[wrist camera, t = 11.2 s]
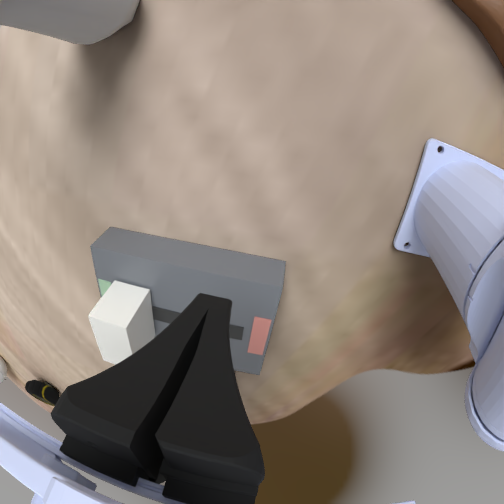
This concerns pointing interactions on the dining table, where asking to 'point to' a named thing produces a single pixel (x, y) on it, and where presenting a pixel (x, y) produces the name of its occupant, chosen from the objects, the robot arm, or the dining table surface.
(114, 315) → the breaker handle
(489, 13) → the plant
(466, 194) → the robot arm
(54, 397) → the tape measure
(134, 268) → the breaker block
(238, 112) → the dining table surface
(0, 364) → the white oval body
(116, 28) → the salt shaker
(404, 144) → the dining table surface
